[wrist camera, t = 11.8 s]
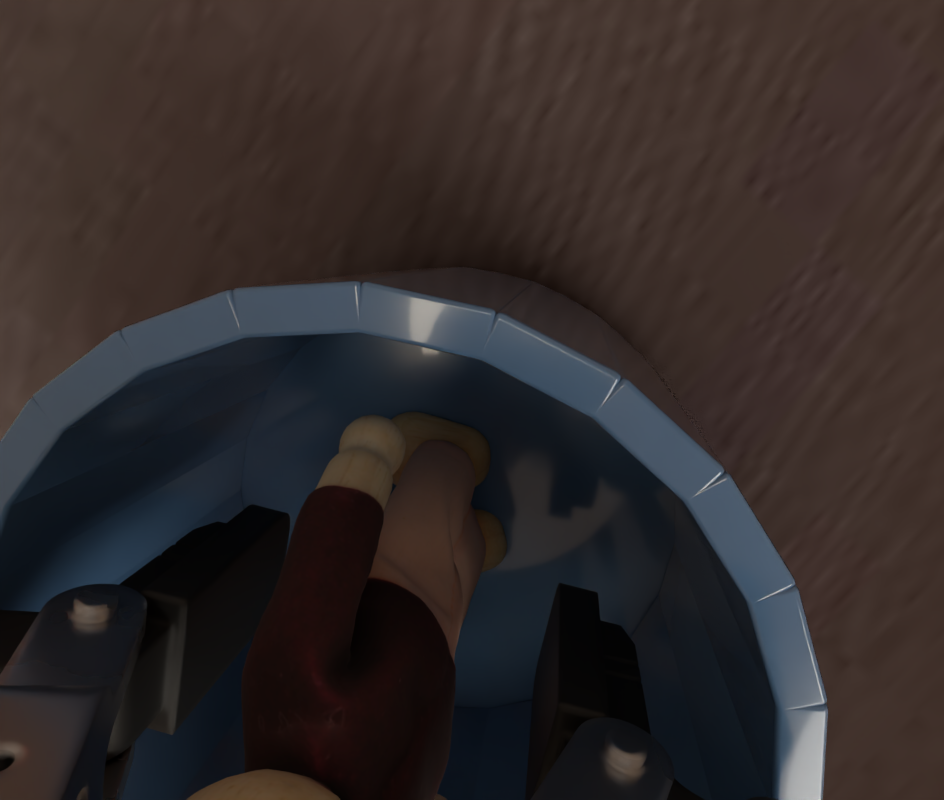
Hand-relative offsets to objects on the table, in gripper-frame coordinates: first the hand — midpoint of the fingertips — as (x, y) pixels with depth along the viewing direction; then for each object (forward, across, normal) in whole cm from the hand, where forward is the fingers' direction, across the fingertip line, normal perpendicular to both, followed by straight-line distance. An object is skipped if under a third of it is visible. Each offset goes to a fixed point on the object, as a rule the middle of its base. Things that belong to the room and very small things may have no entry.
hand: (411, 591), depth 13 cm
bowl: (+4, 0, 0) cm, 4 cm away
